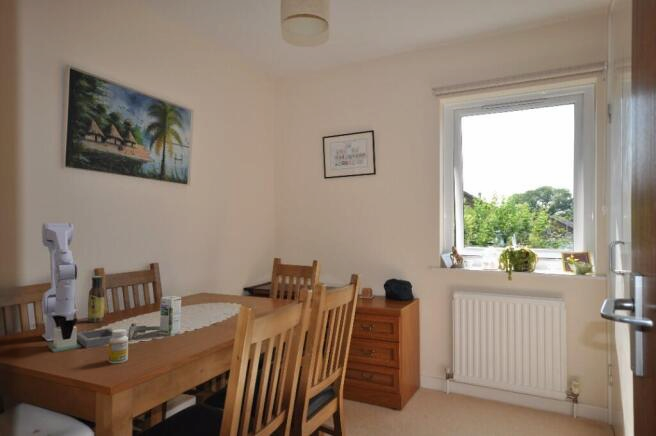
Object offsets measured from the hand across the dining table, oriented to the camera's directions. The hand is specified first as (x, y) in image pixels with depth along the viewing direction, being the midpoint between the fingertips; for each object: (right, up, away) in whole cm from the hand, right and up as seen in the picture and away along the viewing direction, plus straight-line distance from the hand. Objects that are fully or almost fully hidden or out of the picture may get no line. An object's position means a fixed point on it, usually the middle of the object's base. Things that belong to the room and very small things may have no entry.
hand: (64, 337), depth 143 cm
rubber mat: (0, -3, 0) cm, 3 cm away
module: (0, -3, 0) cm, 3 cm away
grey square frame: (+8, -4, +8) cm, 12 cm away
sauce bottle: (-10, -4, +37) cm, 38 cm away
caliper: (+23, -5, +18) cm, 30 cm away
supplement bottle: (+26, -4, -14) cm, 30 cm away
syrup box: (+30, -4, +20) cm, 36 cm away
